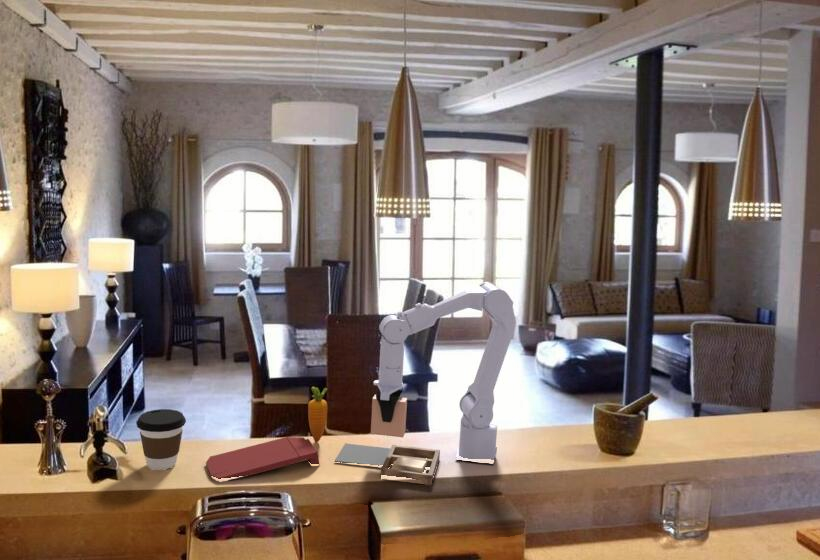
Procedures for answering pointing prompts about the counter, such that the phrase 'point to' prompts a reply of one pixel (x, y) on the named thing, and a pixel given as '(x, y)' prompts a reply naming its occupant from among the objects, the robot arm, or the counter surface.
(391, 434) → the pink rectangular block
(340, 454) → the mat
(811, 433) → the counter surface
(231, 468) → the reddish-brown flat block
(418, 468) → the offcut stack
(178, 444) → the coffee cup
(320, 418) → the carrot
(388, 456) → the tray
